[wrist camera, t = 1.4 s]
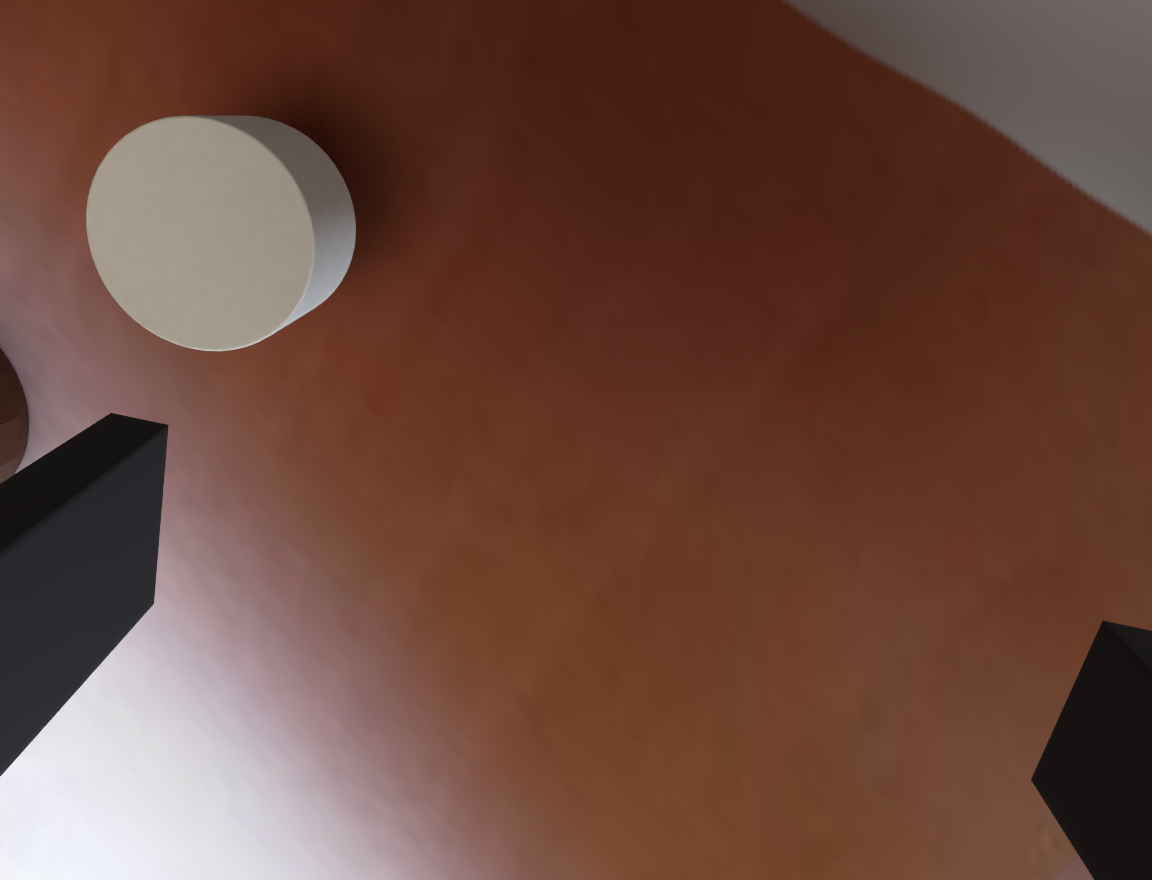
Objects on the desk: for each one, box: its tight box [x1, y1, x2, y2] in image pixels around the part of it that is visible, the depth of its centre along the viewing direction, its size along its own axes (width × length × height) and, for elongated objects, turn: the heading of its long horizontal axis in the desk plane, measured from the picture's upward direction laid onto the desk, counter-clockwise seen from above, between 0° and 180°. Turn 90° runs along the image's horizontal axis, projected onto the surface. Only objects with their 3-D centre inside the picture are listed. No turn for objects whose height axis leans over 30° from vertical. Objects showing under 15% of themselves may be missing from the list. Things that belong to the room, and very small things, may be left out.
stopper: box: [86, 116, 356, 351], centre depth 32 cm, size 7×7×9 cm
